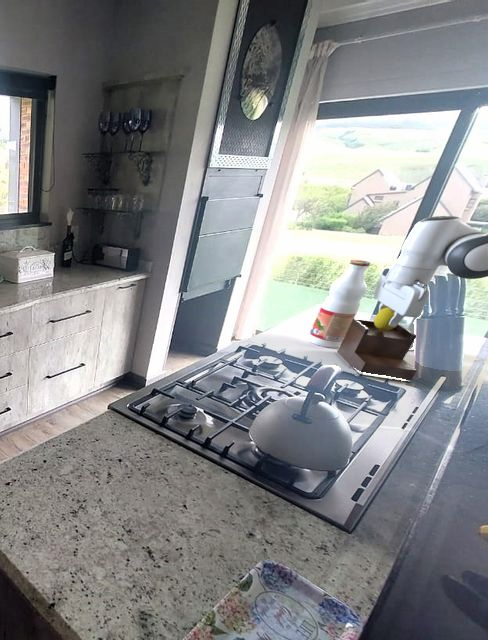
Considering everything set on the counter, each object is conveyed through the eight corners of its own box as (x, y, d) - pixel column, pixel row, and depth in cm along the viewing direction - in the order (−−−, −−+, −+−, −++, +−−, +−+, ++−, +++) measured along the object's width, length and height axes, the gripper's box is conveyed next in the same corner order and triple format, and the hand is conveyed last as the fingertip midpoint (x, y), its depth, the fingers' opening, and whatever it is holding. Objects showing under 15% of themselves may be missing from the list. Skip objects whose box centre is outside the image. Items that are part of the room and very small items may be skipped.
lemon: (376, 327, 126) (388, 302, 122) (397, 333, 121) (410, 308, 118) (365, 329, 124) (377, 304, 121) (385, 335, 120) (399, 310, 116)
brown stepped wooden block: (381, 357, 130) (400, 324, 125) (409, 382, 115) (431, 345, 110) (337, 351, 134) (353, 318, 128) (358, 374, 119) (377, 338, 113)
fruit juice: (335, 350, 134) (376, 266, 121) (303, 341, 141) (338, 260, 127) (343, 344, 140) (383, 262, 126) (311, 335, 146) (346, 256, 133)
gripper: (444, 286, 105) (416, 335, 112) (406, 269, 122) (383, 313, 129) (414, 283, 107) (388, 332, 114) (380, 267, 124) (359, 310, 131)
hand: (385, 321), depth 122 cm, fingers closed on lemon, 5 cm apart
